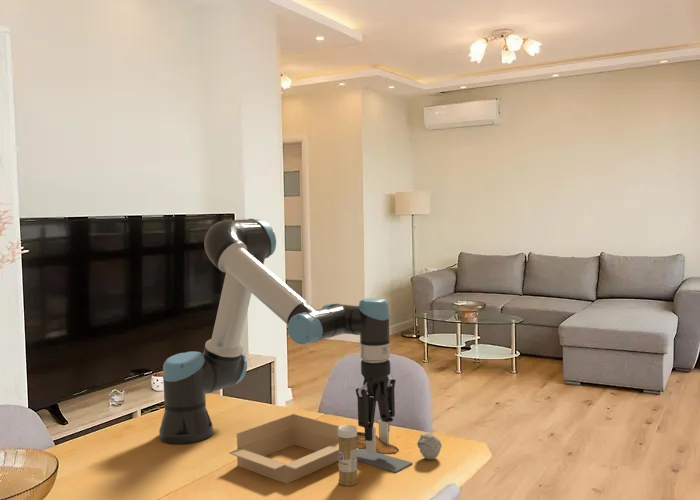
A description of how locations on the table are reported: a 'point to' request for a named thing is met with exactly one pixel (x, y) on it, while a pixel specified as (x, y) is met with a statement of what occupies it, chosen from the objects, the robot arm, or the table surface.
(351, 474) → the sprinkles bottle
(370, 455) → the mat
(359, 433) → the shoe last
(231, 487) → the table surface
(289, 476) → the carton
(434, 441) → the grey rough lump
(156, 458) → the table surface
